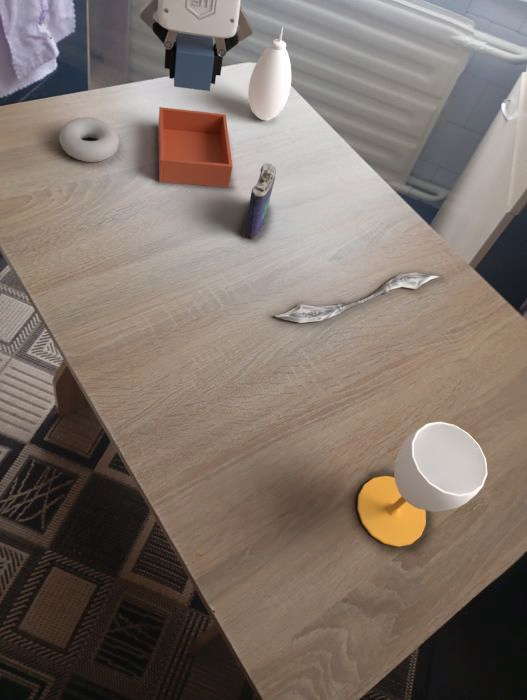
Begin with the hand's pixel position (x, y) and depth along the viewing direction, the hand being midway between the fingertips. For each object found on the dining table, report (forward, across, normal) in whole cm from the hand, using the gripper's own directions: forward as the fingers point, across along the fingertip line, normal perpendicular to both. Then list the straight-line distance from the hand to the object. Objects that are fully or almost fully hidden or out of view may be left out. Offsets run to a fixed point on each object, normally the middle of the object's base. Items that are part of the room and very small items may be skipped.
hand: (192, 74), depth 80 cm
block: (+1, 0, 0) cm, 1 cm away
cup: (+22, +26, -56) cm, 65 cm away
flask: (+22, +13, -5) cm, 26 cm away
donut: (+22, -16, +10) cm, 29 cm away
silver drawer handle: (+22, +29, -21) cm, 42 cm away
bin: (+22, +2, +11) cm, 24 cm away
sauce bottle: (+22, +17, +26) cm, 38 cm away
